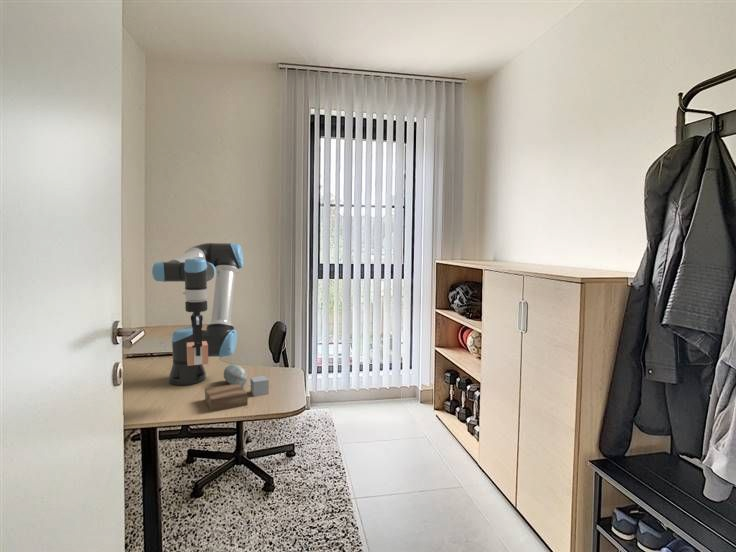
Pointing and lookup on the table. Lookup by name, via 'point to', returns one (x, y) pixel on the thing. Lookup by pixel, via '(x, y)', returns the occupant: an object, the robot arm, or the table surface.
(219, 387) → the walnut block
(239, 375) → the yarn skein
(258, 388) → the grey cube
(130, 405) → the table surface
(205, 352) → the terracotta cube
